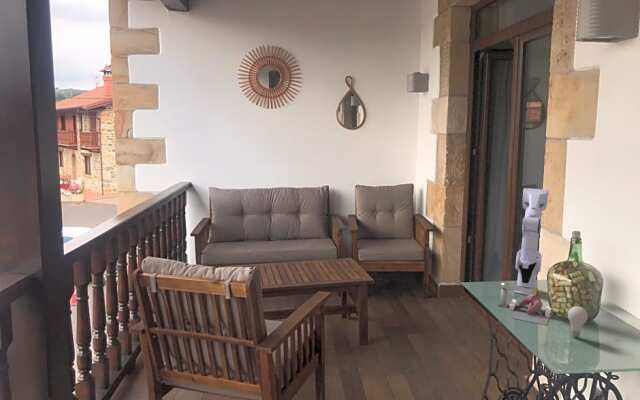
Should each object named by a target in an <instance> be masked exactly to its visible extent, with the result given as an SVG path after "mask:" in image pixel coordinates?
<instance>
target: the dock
mask: <svg viewBox="0 0 640 400" xmlns="http://www.w3.org/2000/svg"><path fill="white" fill-rule="evenodd" d="M500 289H501V288H500ZM508 291H509V290H504V289H501V290H500V301H499V302H498V307H502V308H507V307H508V306H509V311H514V312H515V308H516V306H517V302H518V300H517V299H514V298H513V299H512V300H511V302H510V304H509V302H508V293H509V292H508ZM508 304H509V305H508ZM551 314H552V308H550V305H547V306H546V309H545V313H544V316H545V317H549V318H550V316H551Z"/></svg>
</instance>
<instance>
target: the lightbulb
mask: <svg viewBox="0 0 640 400" xmlns="http://www.w3.org/2000/svg"><path fill="white" fill-rule="evenodd" d="M588 315H589V314H588V312H587V311H586V309H585V308H583V306H582V307H581V306H572V307H571V308H570V309H569V310H568V311H567V318H568V320H569V322H570V329H571V330H570V331H571V333H570V334H571V337H573V338H575V339H578V338H579V337H580V335H581V331H582V329H583V326H584V325H585V323H586V322H587V321H588V318H589V316H588Z"/></svg>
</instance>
